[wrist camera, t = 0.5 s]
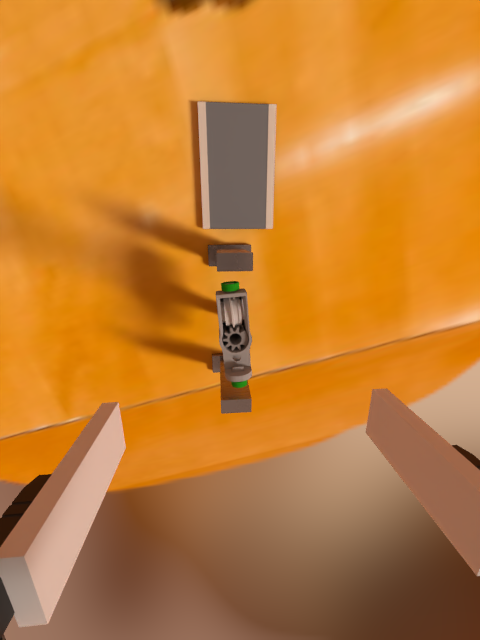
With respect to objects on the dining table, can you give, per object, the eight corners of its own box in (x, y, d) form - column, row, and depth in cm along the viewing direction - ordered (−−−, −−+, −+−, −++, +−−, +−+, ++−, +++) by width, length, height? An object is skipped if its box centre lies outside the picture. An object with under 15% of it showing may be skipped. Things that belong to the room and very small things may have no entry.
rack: (208, 245, 31) (204, 247, 21) (250, 244, 31) (264, 247, 22) (213, 370, 36) (211, 417, 26) (249, 368, 36) (261, 415, 27)
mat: (198, 104, 27) (197, 101, 26) (275, 107, 27) (276, 104, 27) (203, 228, 30) (202, 228, 30) (271, 228, 31) (272, 228, 30)
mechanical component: (222, 349, 35) (225, 390, 25) (214, 272, 32) (213, 286, 22) (245, 347, 35) (255, 387, 26) (238, 270, 32) (247, 283, 23)
